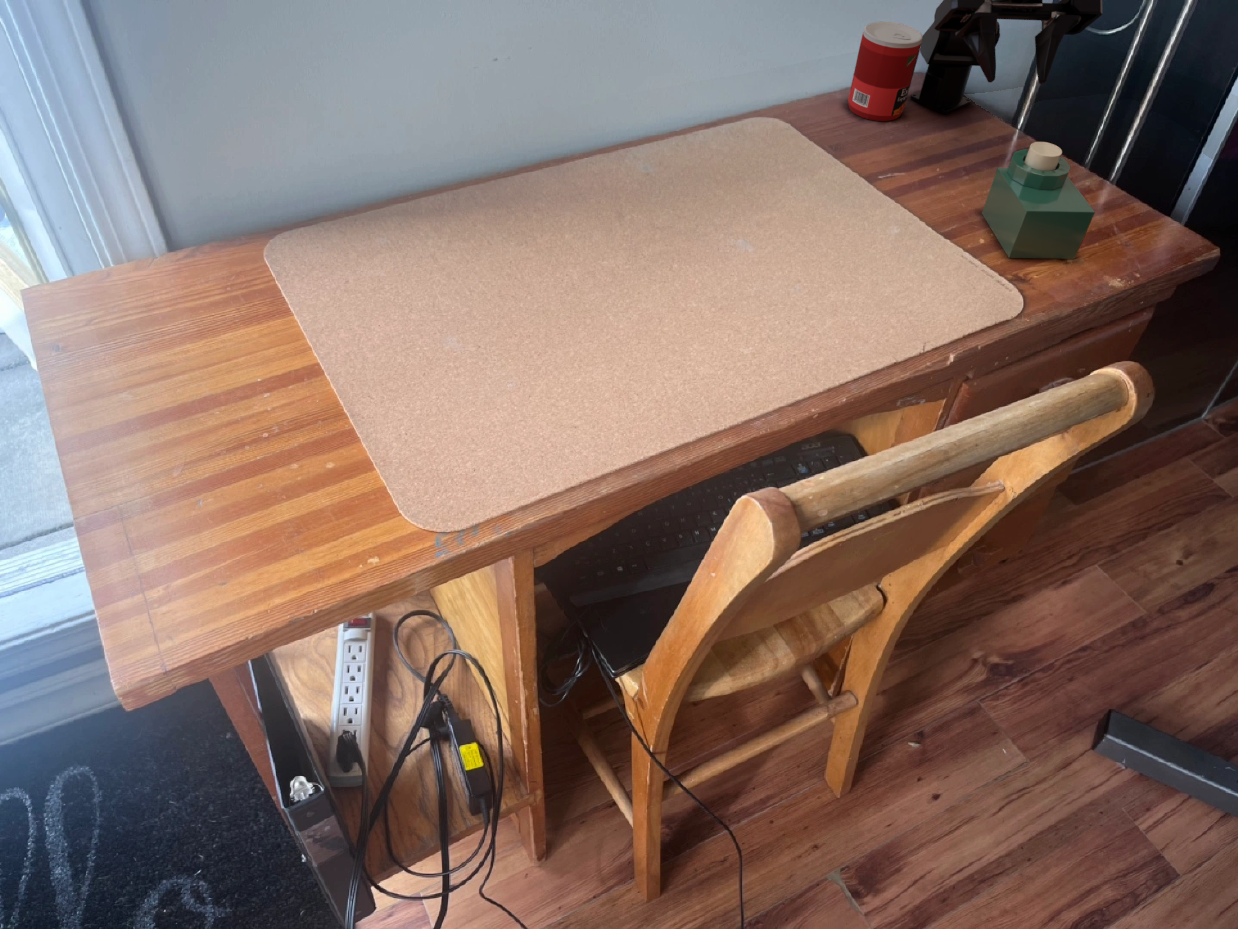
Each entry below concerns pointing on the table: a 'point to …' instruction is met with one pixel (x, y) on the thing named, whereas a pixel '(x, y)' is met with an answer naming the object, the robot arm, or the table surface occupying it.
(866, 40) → the canned food
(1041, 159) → the cream push button
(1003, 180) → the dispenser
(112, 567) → the table surface
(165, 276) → the table surface
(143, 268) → the table surface
